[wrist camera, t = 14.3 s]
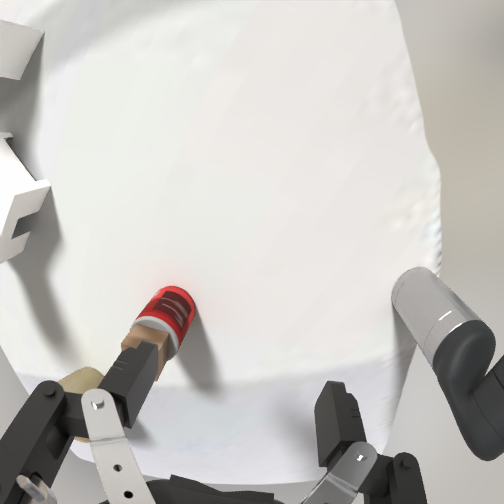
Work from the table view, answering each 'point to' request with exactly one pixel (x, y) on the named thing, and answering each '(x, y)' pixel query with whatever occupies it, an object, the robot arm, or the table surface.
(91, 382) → the plant pot
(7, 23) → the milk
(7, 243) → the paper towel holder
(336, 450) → the robot arm
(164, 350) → the walnut cube
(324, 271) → the table surface
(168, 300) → the canned food
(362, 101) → the table surface
